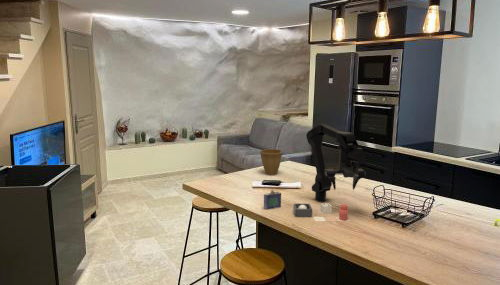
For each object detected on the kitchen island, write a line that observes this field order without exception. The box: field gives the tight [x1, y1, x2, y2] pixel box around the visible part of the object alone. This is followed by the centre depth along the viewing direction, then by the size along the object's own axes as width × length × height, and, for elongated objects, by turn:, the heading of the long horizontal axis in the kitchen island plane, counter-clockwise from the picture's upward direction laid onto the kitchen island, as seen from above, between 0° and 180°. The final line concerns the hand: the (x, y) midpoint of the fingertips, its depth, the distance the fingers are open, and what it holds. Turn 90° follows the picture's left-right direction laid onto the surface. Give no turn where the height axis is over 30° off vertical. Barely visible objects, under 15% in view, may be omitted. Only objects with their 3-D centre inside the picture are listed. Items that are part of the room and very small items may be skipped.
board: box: [312, 216, 350, 222], centre depth 177 cm, size 14×26×2 cm, turn 91°
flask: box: [263, 189, 282, 210], centre depth 188 cm, size 9×3×11 cm, turn 109°
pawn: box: [338, 203, 349, 222], centre depth 173 cm, size 4×4×7 cm
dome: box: [298, 205, 307, 209], centre depth 179 cm, size 6×6×4 cm
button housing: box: [292, 203, 313, 218], centre depth 179 cm, size 8×8×4 cm
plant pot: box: [259, 148, 283, 176], centre depth 254 cm, size 15×15×16 cm
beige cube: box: [320, 202, 333, 215], centre depth 182 cm, size 4×4×4 cm
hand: (344, 189), depth 183 cm, fingers open, 9 cm apart
